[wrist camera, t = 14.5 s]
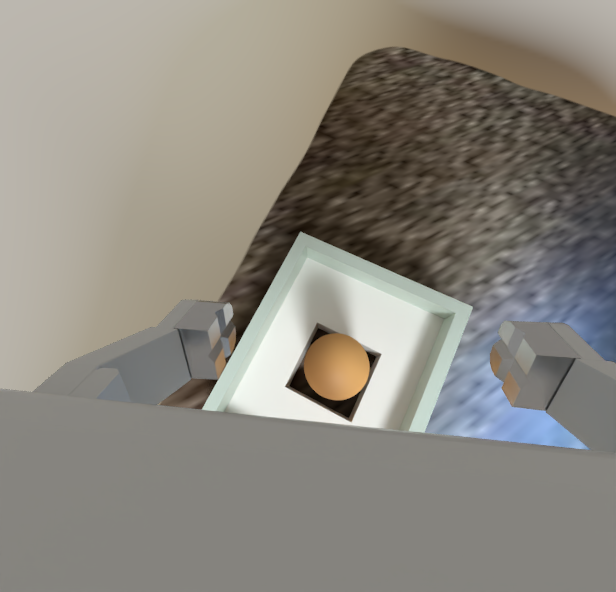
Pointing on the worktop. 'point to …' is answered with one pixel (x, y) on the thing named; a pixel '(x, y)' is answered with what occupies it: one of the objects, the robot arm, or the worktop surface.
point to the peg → (336, 366)
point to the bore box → (350, 321)
